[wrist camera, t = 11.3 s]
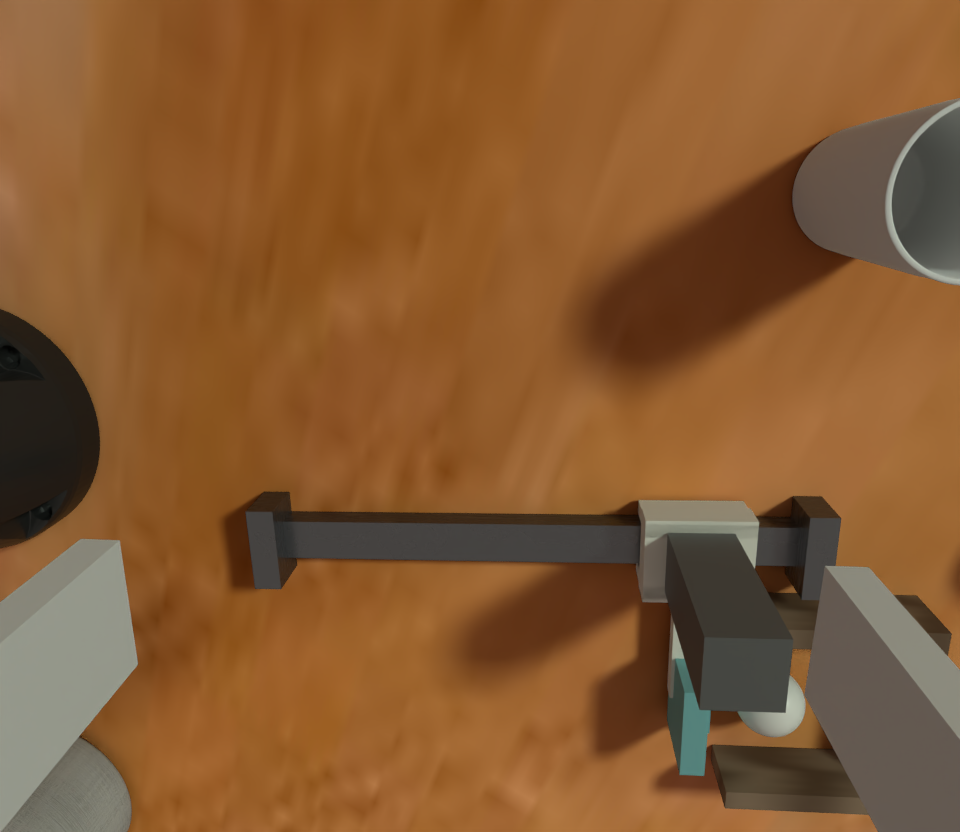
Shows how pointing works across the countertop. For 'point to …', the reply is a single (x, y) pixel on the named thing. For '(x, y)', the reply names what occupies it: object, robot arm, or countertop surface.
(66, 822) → the planter
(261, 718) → the countertop surface
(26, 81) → the countertop surface
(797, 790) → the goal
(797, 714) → the ball
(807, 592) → the rail
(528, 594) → the countertop surface
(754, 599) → the carriage
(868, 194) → the mug
